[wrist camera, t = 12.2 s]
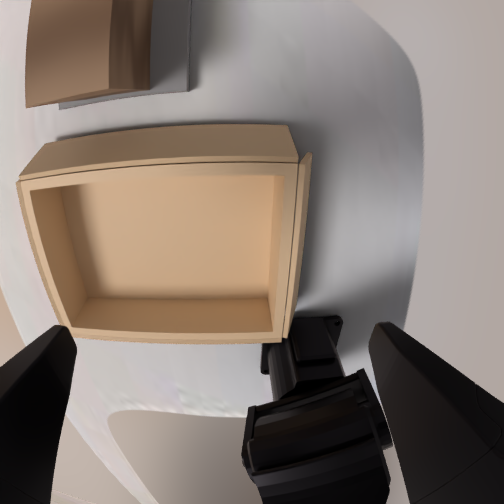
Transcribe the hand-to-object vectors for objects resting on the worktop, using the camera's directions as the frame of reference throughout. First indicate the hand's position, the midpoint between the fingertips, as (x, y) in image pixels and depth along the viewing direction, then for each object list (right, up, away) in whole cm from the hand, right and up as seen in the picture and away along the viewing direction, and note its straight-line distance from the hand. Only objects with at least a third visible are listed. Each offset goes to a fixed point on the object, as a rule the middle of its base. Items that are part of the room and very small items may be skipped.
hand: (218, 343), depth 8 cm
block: (-6, +14, +4) cm, 16 cm away
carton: (-5, +4, +11) cm, 13 cm away
